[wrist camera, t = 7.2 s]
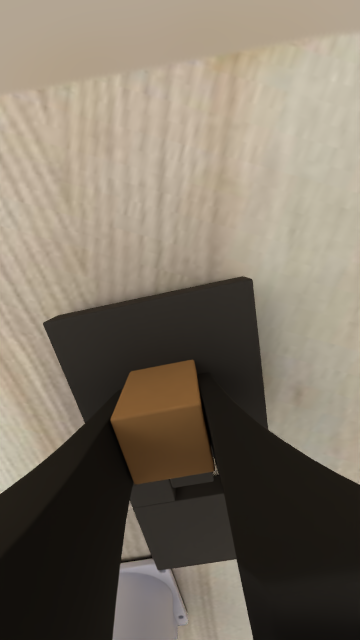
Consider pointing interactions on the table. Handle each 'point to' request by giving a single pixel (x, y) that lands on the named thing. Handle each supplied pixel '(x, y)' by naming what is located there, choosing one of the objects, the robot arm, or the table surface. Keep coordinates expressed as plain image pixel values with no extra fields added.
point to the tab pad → (165, 340)
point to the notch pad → (184, 522)
